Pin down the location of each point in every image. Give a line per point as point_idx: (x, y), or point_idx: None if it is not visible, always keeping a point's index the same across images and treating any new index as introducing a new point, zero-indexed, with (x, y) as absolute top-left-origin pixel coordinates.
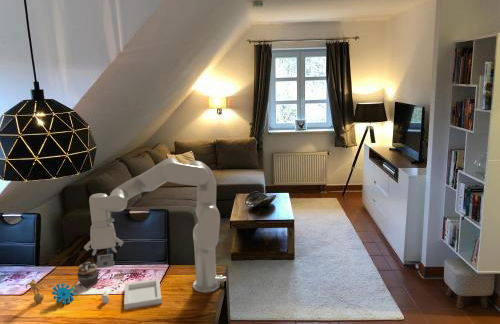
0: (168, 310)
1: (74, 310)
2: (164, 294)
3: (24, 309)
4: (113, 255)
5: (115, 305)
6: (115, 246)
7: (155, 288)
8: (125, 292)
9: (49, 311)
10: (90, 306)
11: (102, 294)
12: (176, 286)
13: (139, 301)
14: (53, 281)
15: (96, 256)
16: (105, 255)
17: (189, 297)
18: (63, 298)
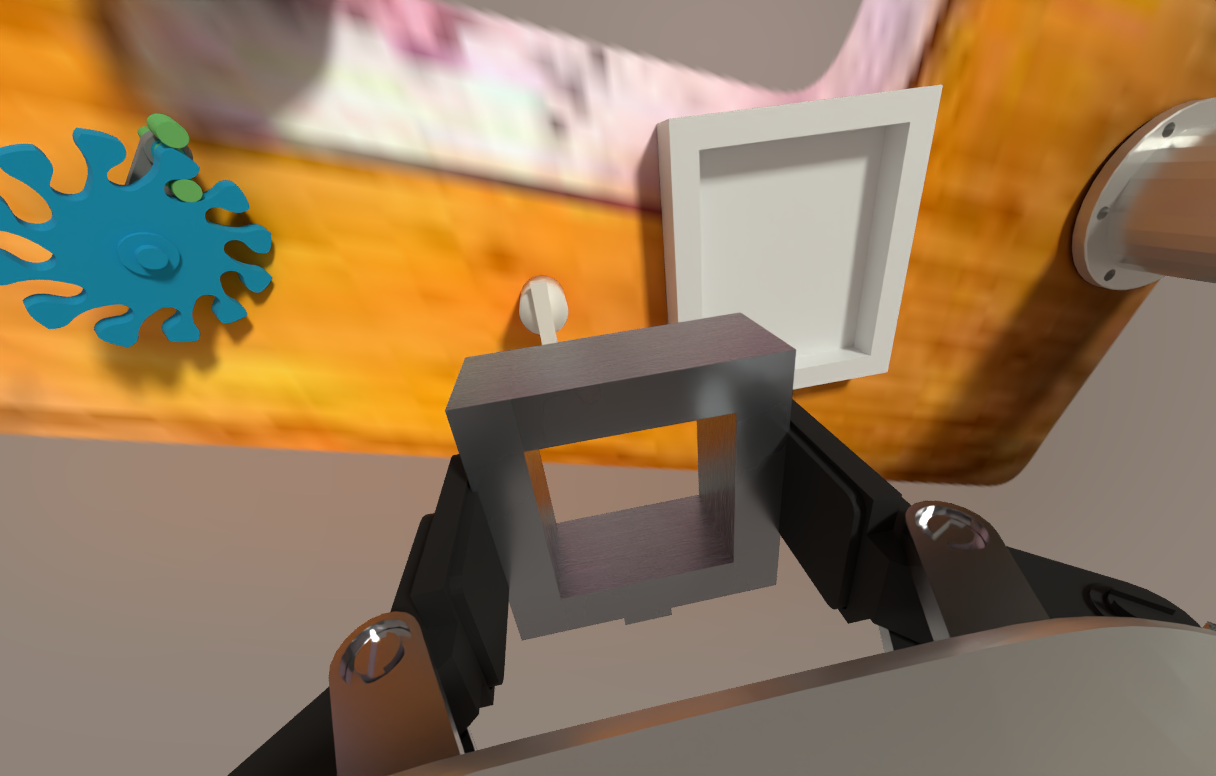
0: (879, 419)
1: (362, 372)
2: None
3: None
4: (814, 571)
5: None
6: (1025, 615)
7: (869, 188)
8: (681, 270)
9: (174, 366)
10: (454, 339)
11: (522, 305)
12: (996, 168)
13: None
14: None
15: (502, 669)
16: (622, 418)
17: (1008, 318)
18: (195, 296)
